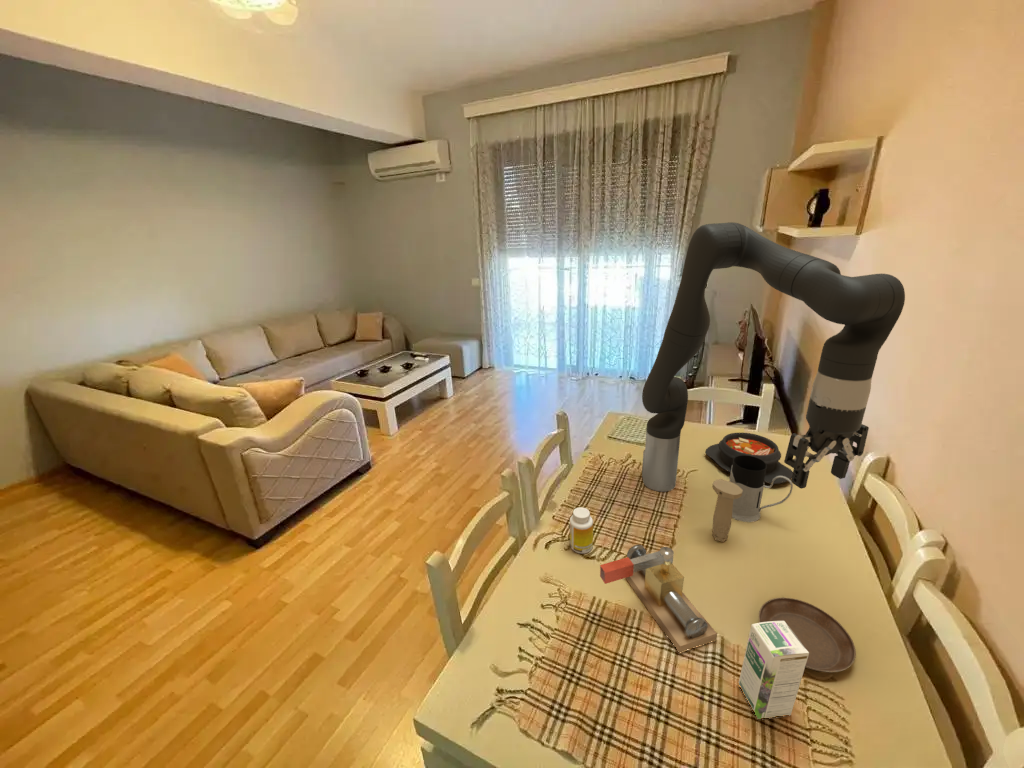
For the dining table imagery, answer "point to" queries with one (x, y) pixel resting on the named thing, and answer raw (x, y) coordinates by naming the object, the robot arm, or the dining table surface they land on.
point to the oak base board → (670, 616)
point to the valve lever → (634, 565)
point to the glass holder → (750, 487)
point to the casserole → (750, 454)
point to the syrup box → (772, 668)
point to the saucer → (813, 633)
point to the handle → (724, 507)
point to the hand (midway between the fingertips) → (818, 480)
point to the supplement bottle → (581, 530)
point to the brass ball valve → (670, 593)
